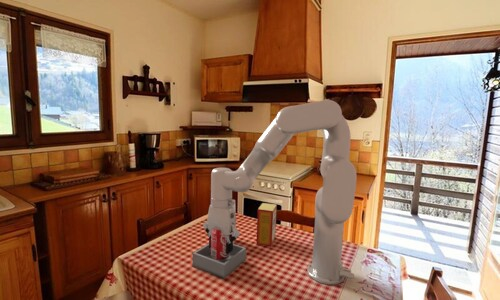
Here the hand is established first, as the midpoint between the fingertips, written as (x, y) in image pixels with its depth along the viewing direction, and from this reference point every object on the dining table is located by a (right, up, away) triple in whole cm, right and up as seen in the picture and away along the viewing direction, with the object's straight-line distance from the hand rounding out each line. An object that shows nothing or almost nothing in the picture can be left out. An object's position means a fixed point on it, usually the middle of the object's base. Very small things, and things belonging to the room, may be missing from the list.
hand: (220, 248), depth 96 cm
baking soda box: (+18, -4, +20) cm, 27 cm away
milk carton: (0, -4, +18) cm, 18 cm away
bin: (0, -6, +1) cm, 6 cm away
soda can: (0, -3, 0) cm, 3 cm away
